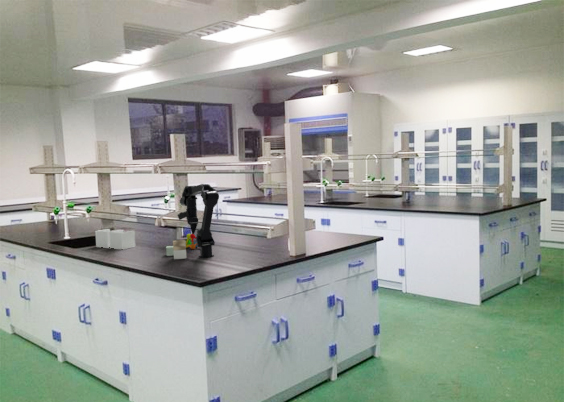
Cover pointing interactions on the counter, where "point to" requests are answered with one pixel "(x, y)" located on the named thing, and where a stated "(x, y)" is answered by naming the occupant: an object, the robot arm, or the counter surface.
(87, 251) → the counter surface
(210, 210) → the robot arm
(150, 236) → the counter surface
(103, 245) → the storage container
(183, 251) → the offwhite block
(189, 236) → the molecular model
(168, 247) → the sage block
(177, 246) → the maple block
